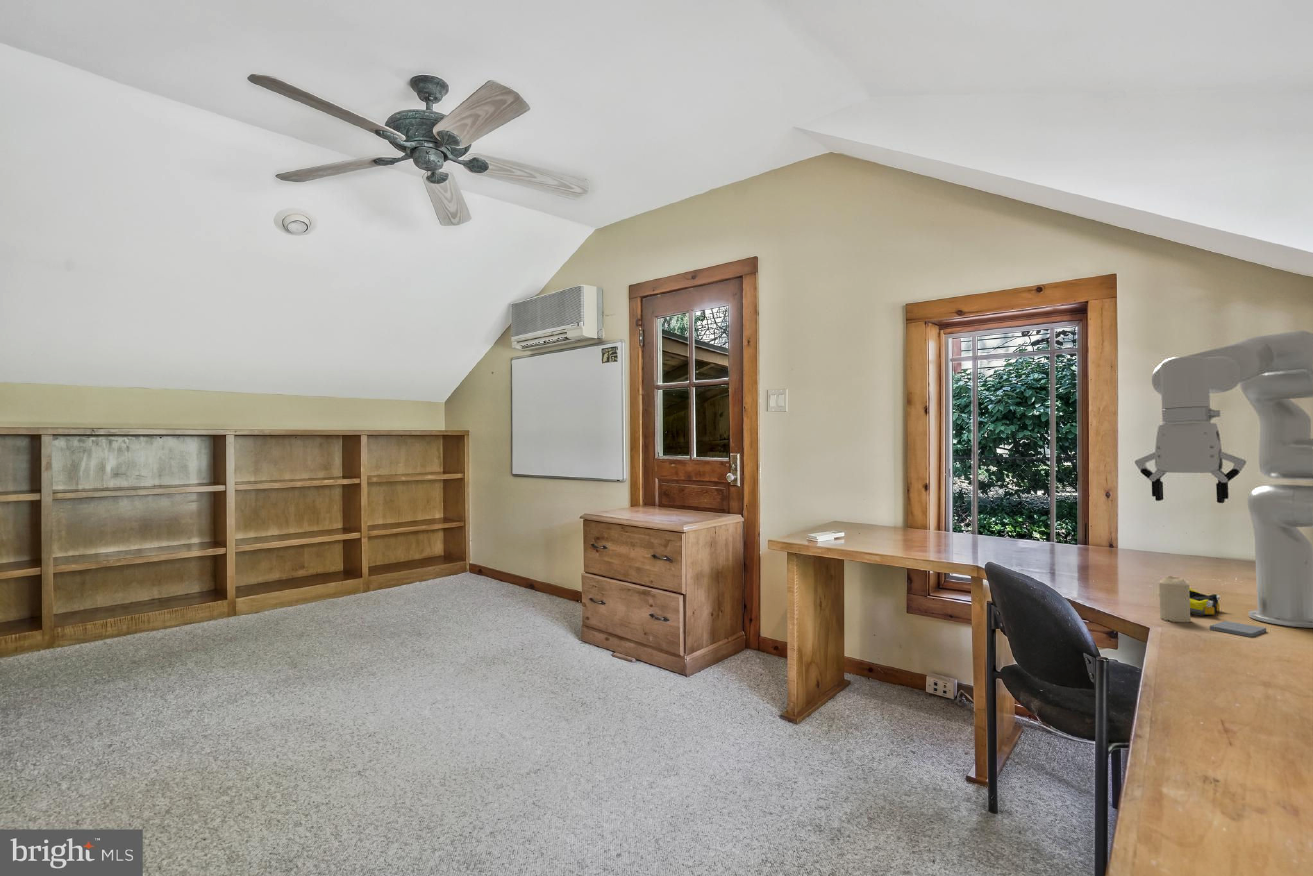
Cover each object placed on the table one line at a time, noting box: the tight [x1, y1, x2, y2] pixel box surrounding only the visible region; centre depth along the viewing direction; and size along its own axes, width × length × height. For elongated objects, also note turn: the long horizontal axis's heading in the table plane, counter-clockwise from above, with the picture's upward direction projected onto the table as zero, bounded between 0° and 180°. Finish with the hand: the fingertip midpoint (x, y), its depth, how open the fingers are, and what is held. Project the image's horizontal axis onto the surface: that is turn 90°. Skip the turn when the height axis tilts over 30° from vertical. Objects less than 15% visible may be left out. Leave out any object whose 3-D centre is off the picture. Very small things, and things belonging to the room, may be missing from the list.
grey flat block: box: [1209, 620, 1267, 638], centre depth 137 cm, size 8×7×1 cm
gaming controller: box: [1189, 587, 1221, 616], centre depth 155 cm, size 15×6×10 cm
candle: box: [1158, 575, 1191, 623], centre depth 147 cm, size 6×6×10 cm
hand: (1189, 501), depth 126 cm, fingers open, 9 cm apart
